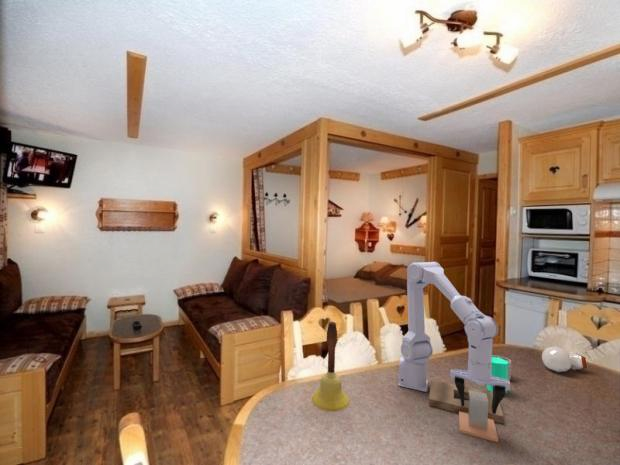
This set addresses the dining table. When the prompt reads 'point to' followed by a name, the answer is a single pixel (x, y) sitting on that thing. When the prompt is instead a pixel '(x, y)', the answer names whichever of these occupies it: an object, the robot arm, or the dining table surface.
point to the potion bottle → (562, 359)
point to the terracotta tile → (473, 431)
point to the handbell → (331, 379)
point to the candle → (498, 370)
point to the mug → (508, 365)
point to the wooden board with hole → (445, 394)
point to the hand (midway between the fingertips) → (477, 408)
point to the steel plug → (477, 410)
